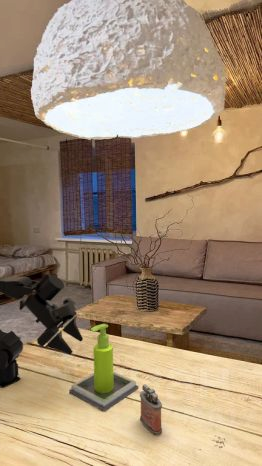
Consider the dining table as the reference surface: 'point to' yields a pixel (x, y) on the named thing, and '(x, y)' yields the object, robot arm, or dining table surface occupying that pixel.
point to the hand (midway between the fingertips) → (77, 346)
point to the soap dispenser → (103, 361)
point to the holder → (103, 400)
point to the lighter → (150, 410)
